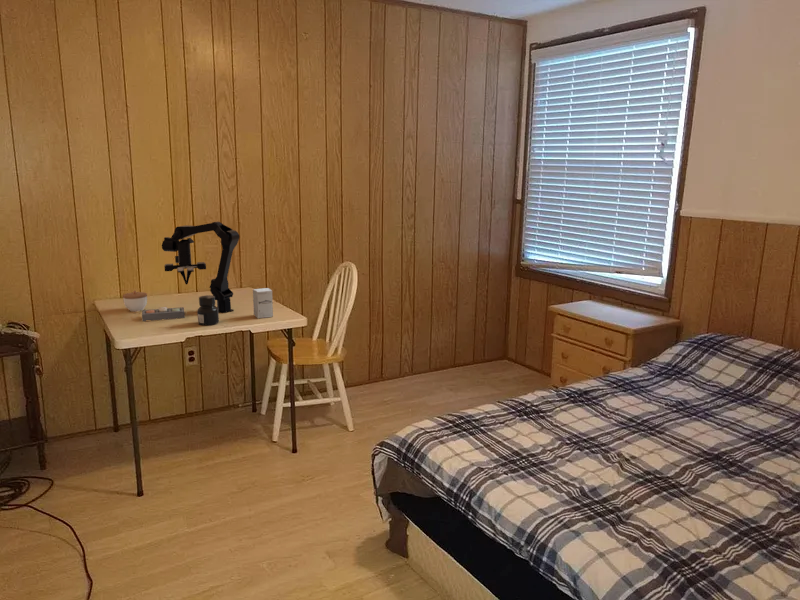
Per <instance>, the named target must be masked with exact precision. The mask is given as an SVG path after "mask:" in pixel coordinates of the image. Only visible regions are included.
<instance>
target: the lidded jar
mask: <svg viewBox="0 0 800 600" xmlns="http://www.w3.org/2000/svg"><path fill="white" fill-rule="evenodd" d="M122 298H123V303H124V306H125V308H126V309H128V311H129V310H130V311H129V312H141V311H142V310H145V308H146V306H147V303H148V293H147V292H143V291H137V290H133V292H126V293H124V294H122ZM140 310H141V311H140Z"/></svg>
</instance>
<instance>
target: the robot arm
mask: <svg viewBox="0 0 800 600" xmlns="http://www.w3.org/2000/svg"><path fill="white" fill-rule="evenodd" d="M212 231H213V232H214V233H215V235H216V236H217V237H218V238H219V239H220V244H221V247H222V250H221V256H220V258H219V259H220V260H219V264H218V268H217V274H216V277H215V278H213V279H211V280H210V285H209V287H208V288H209V291H210V293H211V294H212V296H215V301H216V307H217V308H218V313H221V314H223V313H224V314H225V313H229V311H230V312H234V310H235V309H233V308H232V306H231V305H232V304H231V303H232V302H231V298H233V295H234V292H233V291H232V290H231V289H230V288H229V280H228V276H229V272H230V271H229V270H230V265H231V262H232V257H233V251H234V249H235V248H236V246H237V245H238V243H239V240H240V234H239V232H238V231H237V230H235V229H234V230H233V228H231V227H230V226H228V225H225V224H224V223H222V222H221V221H214V222H213V221H212V222H211V223H205V224H198V225H189V224H187V225H186V224H185V225H180V226H176V227H175V229H174V232H173V233H172V236H171V237H169V236H165V237H164V238H163V241H162V243H161V248H162V250H163V252H174V253H176V252H177V255H175V256H174V259H175V264H176V265H174V263H165V264H164V272H172V271H173V270H177V273H180V275H181V276H182V279H183V281H184V283H185V285H188V283H189V281H190V277H191V274H192V273H194V271H195V269H198V270H199V271H200V270H201V271H202V270H207V265H206V262H204V261H201V262H200V261H199V262H198V261H197V262H196V264H195V263H193V264H192V253H191V252H192V250H191V244H193V243H194V244H195V241H194V240H193V239H192V238H191V237H192V236H195V235H196V234H201V233H202V234H203V233H207V232H212ZM185 269H187V270H186V273H185Z"/></svg>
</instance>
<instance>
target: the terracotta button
mask: <svg viewBox="0 0 800 600" xmlns="http://www.w3.org/2000/svg"><path fill="white" fill-rule="evenodd" d="M147 310H148V311H146V313H155V310H152V309H147Z"/></svg>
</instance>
